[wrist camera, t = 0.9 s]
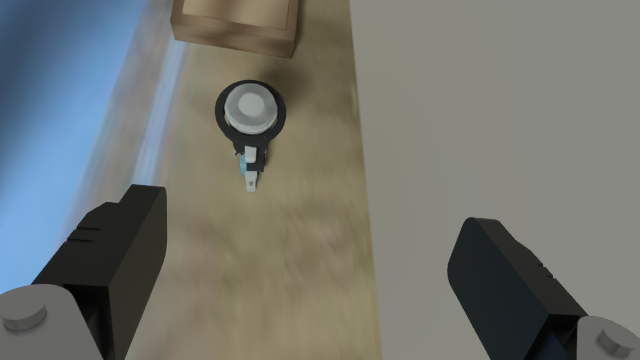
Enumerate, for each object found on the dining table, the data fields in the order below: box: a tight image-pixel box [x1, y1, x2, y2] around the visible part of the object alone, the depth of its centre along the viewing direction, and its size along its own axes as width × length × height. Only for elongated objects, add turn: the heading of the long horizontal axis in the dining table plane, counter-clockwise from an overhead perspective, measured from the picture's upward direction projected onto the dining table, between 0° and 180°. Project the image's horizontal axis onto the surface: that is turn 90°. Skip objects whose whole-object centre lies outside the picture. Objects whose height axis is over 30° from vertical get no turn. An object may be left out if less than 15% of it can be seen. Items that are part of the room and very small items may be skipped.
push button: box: [215, 80, 286, 192], centre depth 34 cm, size 7×5×10 cm
